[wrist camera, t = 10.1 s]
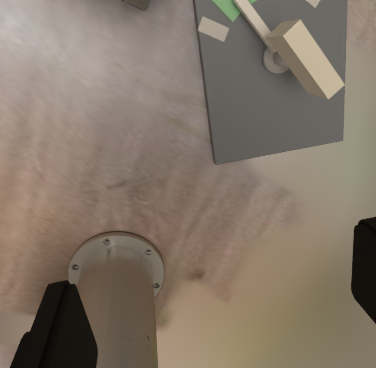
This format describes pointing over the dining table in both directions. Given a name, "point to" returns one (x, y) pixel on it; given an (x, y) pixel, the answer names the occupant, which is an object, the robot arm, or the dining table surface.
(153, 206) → the dining table surface
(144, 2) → the skincare box
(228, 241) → the dining table surface
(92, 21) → the dining table surface
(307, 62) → the beige block on stand
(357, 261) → the robot arm
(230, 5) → the tuner board
